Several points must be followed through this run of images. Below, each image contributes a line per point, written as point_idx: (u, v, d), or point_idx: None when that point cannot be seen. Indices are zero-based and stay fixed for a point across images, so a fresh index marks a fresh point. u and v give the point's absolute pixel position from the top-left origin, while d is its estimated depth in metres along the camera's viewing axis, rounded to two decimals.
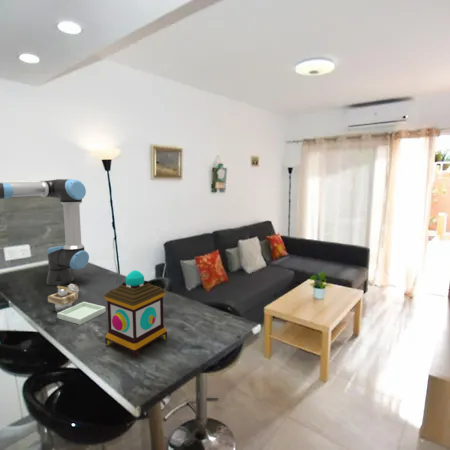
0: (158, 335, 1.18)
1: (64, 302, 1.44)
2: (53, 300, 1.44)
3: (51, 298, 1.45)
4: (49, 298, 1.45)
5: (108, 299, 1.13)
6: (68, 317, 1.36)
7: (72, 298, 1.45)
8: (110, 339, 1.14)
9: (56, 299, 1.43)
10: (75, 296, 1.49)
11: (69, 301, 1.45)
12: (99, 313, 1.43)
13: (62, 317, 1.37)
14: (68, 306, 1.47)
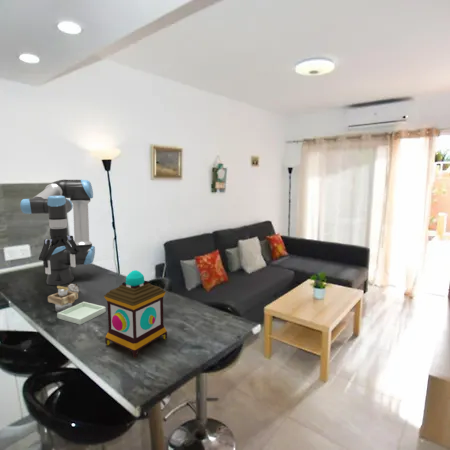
0: (158, 335, 1.18)
1: (64, 302, 1.44)
2: (53, 300, 1.44)
3: (51, 298, 1.45)
4: (49, 298, 1.45)
5: (108, 299, 1.13)
6: (68, 317, 1.36)
7: (72, 298, 1.45)
8: (110, 339, 1.14)
9: (56, 299, 1.43)
10: (75, 296, 1.49)
11: (69, 301, 1.45)
12: (99, 313, 1.43)
13: (62, 317, 1.37)
14: (68, 306, 1.47)
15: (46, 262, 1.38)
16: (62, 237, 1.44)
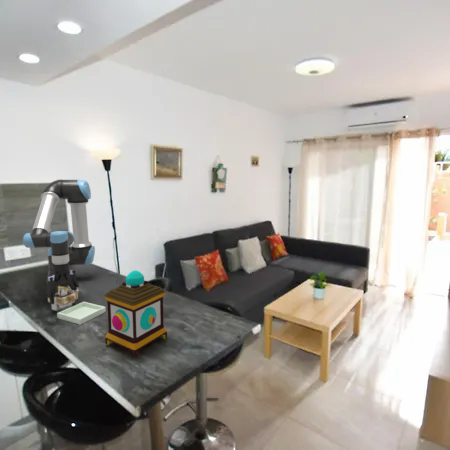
0: (158, 335, 1.18)
1: (64, 302, 1.44)
2: None
3: None
4: (49, 298, 1.45)
5: (108, 299, 1.13)
6: (68, 317, 1.36)
7: (72, 298, 1.45)
8: (110, 339, 1.14)
9: (56, 299, 1.43)
10: (75, 296, 1.49)
11: (69, 301, 1.45)
12: (99, 313, 1.43)
13: (62, 317, 1.37)
14: (68, 306, 1.47)
15: (52, 299, 1.42)
16: (65, 271, 1.47)
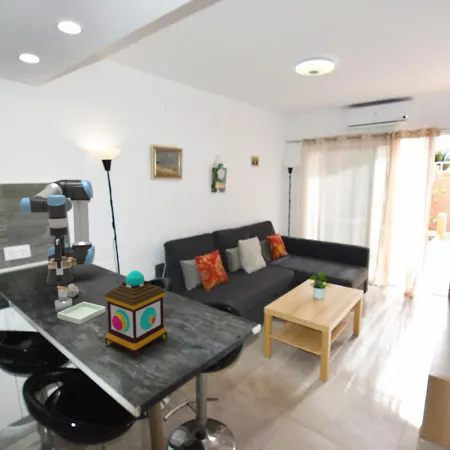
0: (158, 335, 1.18)
1: (71, 264, 1.45)
2: None
3: (54, 264, 1.41)
4: (50, 264, 1.40)
5: (108, 299, 1.13)
6: (68, 317, 1.36)
7: None
8: (110, 339, 1.14)
9: (62, 263, 1.42)
10: None
11: (73, 263, 1.47)
12: (99, 313, 1.43)
13: (62, 317, 1.37)
14: (68, 306, 1.47)
15: (60, 263, 1.40)
16: (61, 235, 1.45)
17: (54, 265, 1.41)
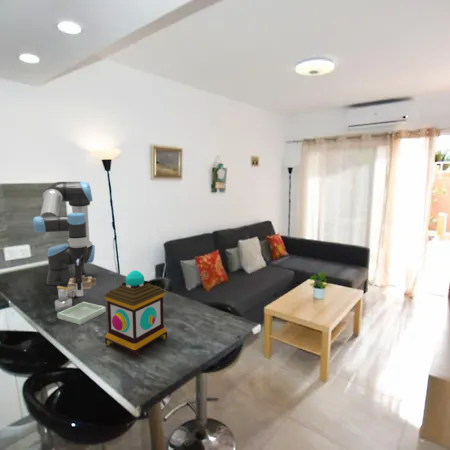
0: (158, 335, 1.18)
1: None
2: None
3: (74, 285, 1.35)
4: (70, 286, 1.34)
5: (108, 299, 1.13)
6: (68, 317, 1.36)
7: (95, 280, 1.42)
8: (110, 339, 1.14)
9: None
10: None
11: (93, 284, 1.41)
12: (99, 313, 1.43)
13: (62, 317, 1.37)
14: (68, 306, 1.47)
15: (80, 284, 1.35)
16: (81, 254, 1.40)
17: (74, 286, 1.35)
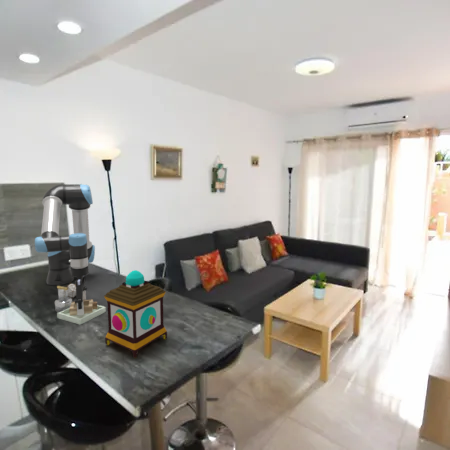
0: (158, 335, 1.18)
1: (92, 309, 1.41)
2: None
3: (76, 310, 1.37)
4: (72, 310, 1.36)
5: (108, 299, 1.13)
6: (68, 317, 1.36)
7: None
8: (110, 339, 1.14)
9: (84, 308, 1.38)
10: None
11: (94, 307, 1.43)
12: (99, 313, 1.43)
13: (62, 317, 1.37)
14: (68, 306, 1.47)
15: (81, 303, 1.35)
16: None
17: (76, 311, 1.37)
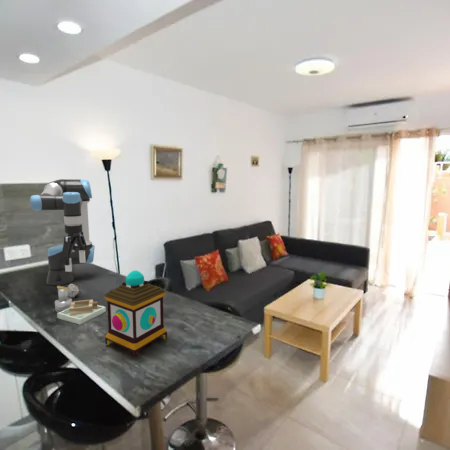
0: (158, 335, 1.18)
1: (92, 309, 1.41)
2: (79, 311, 1.38)
3: (76, 310, 1.37)
4: (72, 310, 1.36)
5: (108, 299, 1.13)
6: (68, 317, 1.36)
7: None
8: (110, 339, 1.14)
9: (84, 308, 1.38)
10: None
11: (94, 307, 1.43)
12: (99, 313, 1.43)
13: (62, 317, 1.37)
14: (68, 306, 1.47)
15: (68, 259, 1.37)
16: (77, 234, 1.44)
17: (76, 311, 1.37)
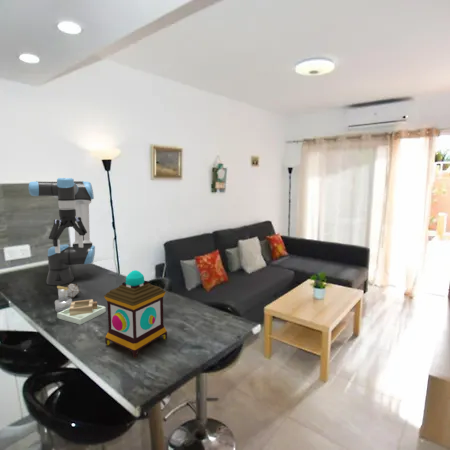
0: (158, 335, 1.18)
1: (92, 309, 1.41)
2: (79, 311, 1.38)
3: (76, 310, 1.37)
4: (72, 310, 1.36)
5: (108, 299, 1.13)
6: (68, 317, 1.36)
7: None
8: (110, 339, 1.14)
9: (84, 308, 1.38)
10: None
11: (94, 307, 1.43)
12: (99, 313, 1.43)
13: (62, 317, 1.37)
14: (68, 306, 1.47)
15: (56, 241, 1.44)
16: (71, 218, 1.50)
17: (76, 311, 1.37)
